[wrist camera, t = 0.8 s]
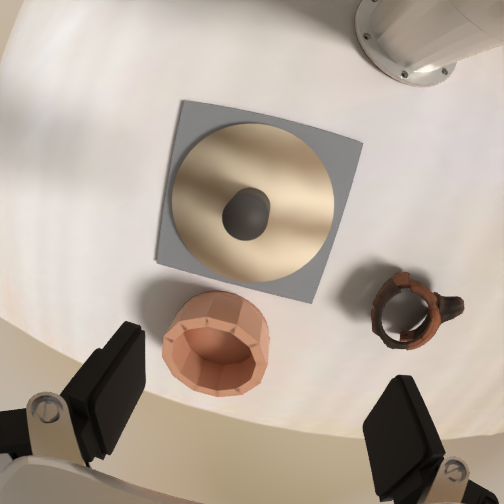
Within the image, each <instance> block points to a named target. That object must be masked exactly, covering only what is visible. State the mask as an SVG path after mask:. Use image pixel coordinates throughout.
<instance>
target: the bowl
mask: <svg viewBox="0 0 504 504" xmlns="http://www.w3.org/2000/svg"><path fill="white" fill-rule="evenodd" d="M269 342H270V337H269V333H268V326H267V323H266V320H265V318H264V316H263V315H262V313H261V312H260V311H259V310H258V309H257V308H256V307H255V306H254V305H253V304H252V303H251V302H249V301H248V300H246V299H244V298H242V297H240V296H238V295H235V294H232V293H228V292H221V291H211V292H205V293H202V294H199V295H196V296H194V297H193V298H191V299H190V300H189V301H187V302H186V303H185V305H184V306H183V307H182V309H181V310H180V311H179V312H178V313H177V314H176V316H175V318H174V319H173V321H172V323H171V324H170V326H169V328H168V330H167V331H166V333H165V335H164V336H163V349H162V357H163V359H164V361H165V363H166V365H167V366H168V368H169V370H170V371H171V373H172V375H173V376H174V377H175V378H177V379H178V380H179V381H181V382H182V383H184V384H185V385H186V386H188V387H189V388H191V389H192V390H194V391H197V392H201V393H204V394H208V395H212V396H216V397H225V396H235V395H243V394H244V393H246V392H247V391H249V390H251V389H252V388H254V387H255V386H257V385H259V384H260V383H261V380H262V378H263V375H264V372H265V370H266V367H267V364H268V353H269Z"/></svg>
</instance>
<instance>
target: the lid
mask: <svg viewBox="0 0 504 504" xmlns="http://www.w3.org/2000/svg"><path fill="white" fill-rule="evenodd" d="M172 211H173V217H174V221H175V225H176V228H177V230H178V233H179V235H180V237H181V239H182V241H183V242H184V244H185V246H186V247H187V248H188V250H189V251H190V252H191V254H192V255H193V256H194V257H195V258H196V259H197V260H198V261H199V262H201V263H202V264H203V265H204V266H206V267H207V268H209V269H210V270H212V271H213V272H215V273H217V274H219V275H222V276H224V277H227V278H230V279H233V280H237V281H242V282H266V281H272V280H276V279H279V278H283V277H285V276H287V275H290V274H292V273H294V272H295V271H297V270H299V269H300V268H302V267H303V266H304V265H305V264H307V263H308V262H309V261H310V260H311V259H312V258H313V257H314V256H315V255H316V254H317V252H318V251H319V250H320V248H321V247H322V245H323V243H324V242H325V240H326V238H327V236H328V233H329V231H330V228H331V224H332V220H333V214H334V195H333V189H332V184H331V181H330V178H329V175H328V173H327V171H326V169H325V167H324V165H323V163H322V162H321V160H320V159H319V157H318V156H317V155H316V154H315V152H314V151H313V150H312V149H311V148H310V147H309V146H308V145H307V144H305V143H304V142H303V141H302V140H301V139H299V138H297V137H296V136H294V135H293V134H291V133H289V132H287V131H285V130H283V129H280V128H277V127H273V126H270V125H264V124H239V125H234V126H230V127H226V128H223V129H221V130H218V131H216V132H214V133H212V134H211V135H209V136H207V137H206V138H204V139H203V140H202V141H201V142H199V143H198V144H197V145H196V146H195V147H194V148H193V149H192V150H191V151H190V152H189V154H188V155H187V156H186V158H185V159H184V161H183V162H182V164H181V166H180V168H179V170H178V173H177V175H176V178H175V182H174V186H173V192H172Z"/></svg>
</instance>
